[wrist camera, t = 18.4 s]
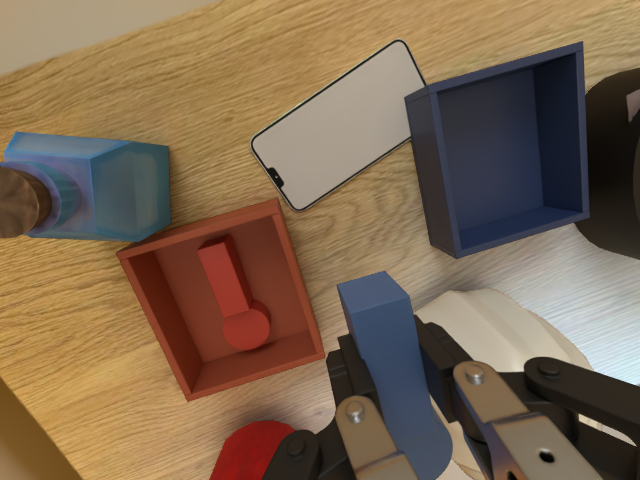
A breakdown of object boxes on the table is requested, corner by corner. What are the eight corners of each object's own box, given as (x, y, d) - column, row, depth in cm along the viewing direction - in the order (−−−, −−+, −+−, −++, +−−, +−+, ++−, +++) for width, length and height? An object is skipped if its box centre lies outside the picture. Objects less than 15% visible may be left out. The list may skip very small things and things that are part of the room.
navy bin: (402, 97, 26) (427, 84, 22) (534, 60, 26) (583, 40, 22) (430, 244, 29) (456, 259, 25) (545, 209, 30) (590, 217, 26)
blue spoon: (316, 289, 13) (324, 320, 11) (404, 264, 14) (434, 288, 11) (366, 466, 16) (383, 528, 13) (440, 443, 16) (472, 498, 13)
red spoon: (194, 244, 26) (183, 253, 24) (240, 230, 26) (235, 238, 24) (234, 344, 29) (229, 363, 26) (276, 331, 29) (275, 348, 26)
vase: (487, 251, 30) (640, 318, 17) (523, 360, 34) (671, 481, 21) (359, 314, 30) (418, 428, 17) (410, 416, 34) (488, 572, 21)
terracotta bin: (142, 237, 26) (115, 252, 22) (277, 197, 27) (277, 205, 22) (200, 367, 30) (187, 402, 25) (319, 329, 30) (325, 358, 26)
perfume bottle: (170, 223, 26) (84, 273, 15) (89, 219, 25) (-71, 268, 14) (168, 146, 25) (69, 133, 13) (82, 139, 24) (-105, 118, 12)
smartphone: (443, 117, 27) (296, 216, 27) (439, 118, 27) (296, 215, 28) (402, 32, 24) (244, 140, 25) (399, 35, 25) (245, 141, 26)
